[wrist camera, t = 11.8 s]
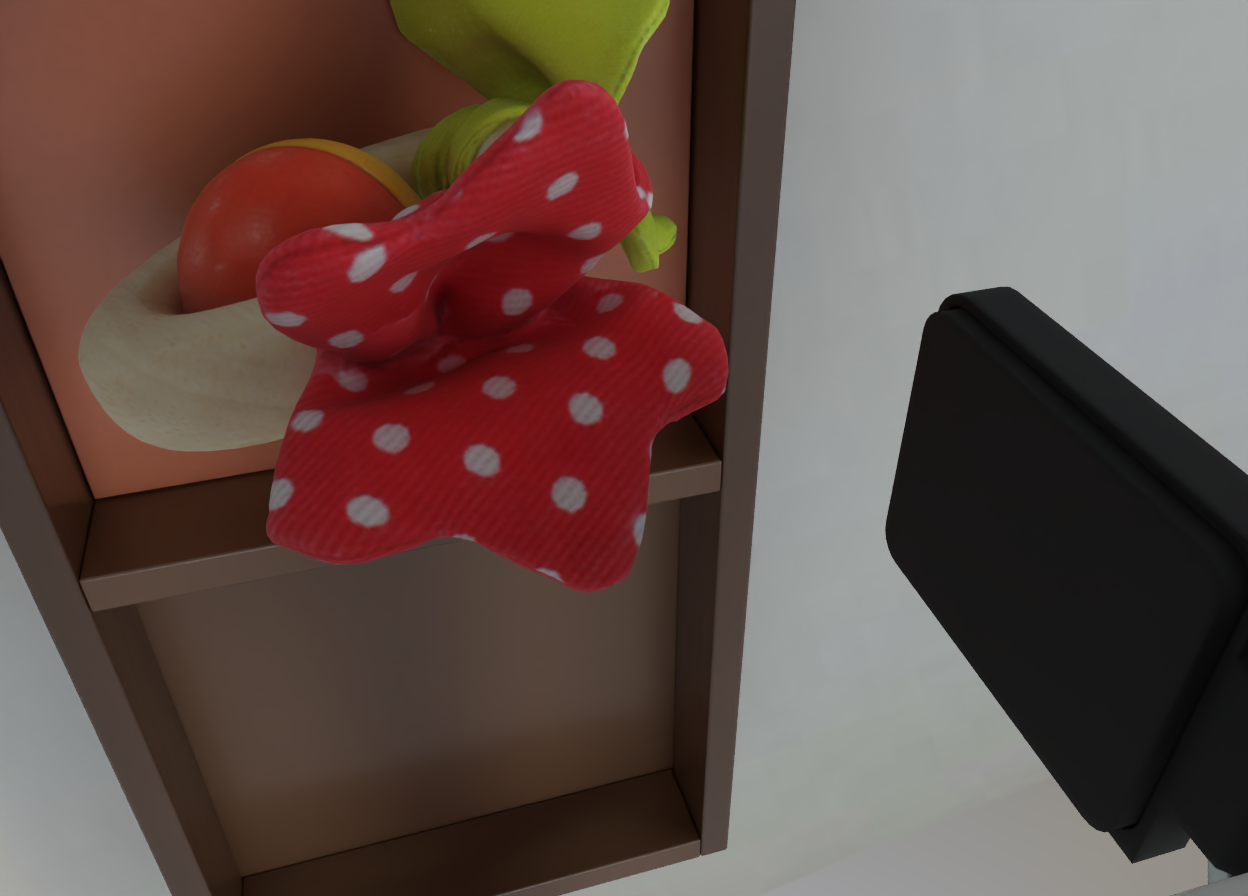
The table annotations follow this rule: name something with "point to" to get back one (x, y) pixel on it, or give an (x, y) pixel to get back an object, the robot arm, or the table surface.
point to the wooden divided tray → (398, 583)
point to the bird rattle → (433, 311)
